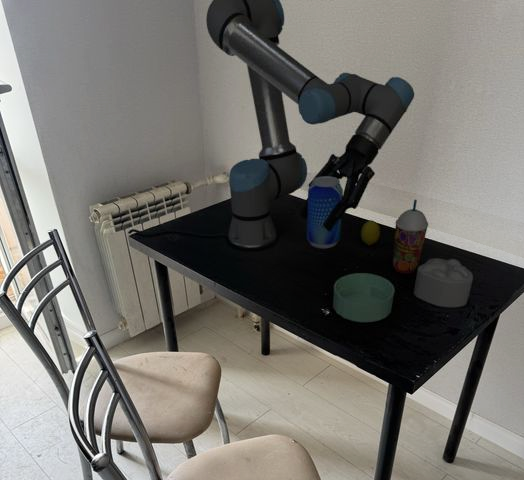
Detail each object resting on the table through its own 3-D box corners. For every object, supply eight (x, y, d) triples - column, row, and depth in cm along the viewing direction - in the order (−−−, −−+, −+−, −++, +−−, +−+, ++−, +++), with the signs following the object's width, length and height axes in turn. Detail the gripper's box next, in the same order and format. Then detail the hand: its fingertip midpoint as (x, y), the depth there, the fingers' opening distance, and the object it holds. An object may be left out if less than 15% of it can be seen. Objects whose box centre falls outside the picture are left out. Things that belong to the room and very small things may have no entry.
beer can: (342, 237, 132) (346, 176, 122) (335, 251, 125) (339, 188, 115) (311, 233, 134) (313, 173, 124) (303, 247, 128) (304, 185, 118)
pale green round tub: (335, 323, 121) (336, 304, 118) (331, 291, 133) (332, 273, 129) (396, 323, 120) (399, 303, 117) (386, 291, 132) (389, 272, 128)
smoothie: (387, 274, 139) (396, 204, 126) (391, 260, 145) (401, 192, 133) (418, 278, 136) (430, 207, 124) (421, 264, 143) (434, 195, 130)
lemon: (377, 241, 155) (380, 216, 150) (379, 249, 150) (382, 224, 146) (359, 240, 155) (361, 216, 150) (360, 249, 151) (362, 224, 146)
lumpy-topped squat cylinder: (429, 279, 136) (435, 250, 130) (475, 296, 129) (483, 266, 123) (408, 294, 130) (413, 265, 125) (455, 313, 123) (463, 282, 117)
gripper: (406, 161, 117) (350, 244, 120) (344, 142, 131) (295, 216, 134) (393, 142, 112) (335, 229, 115) (329, 124, 125) (279, 202, 128)
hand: (314, 222), depth 124 cm, fingers closed on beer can, 8 cm apart
